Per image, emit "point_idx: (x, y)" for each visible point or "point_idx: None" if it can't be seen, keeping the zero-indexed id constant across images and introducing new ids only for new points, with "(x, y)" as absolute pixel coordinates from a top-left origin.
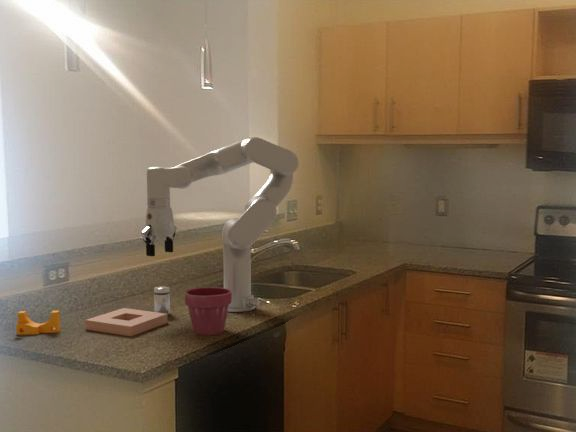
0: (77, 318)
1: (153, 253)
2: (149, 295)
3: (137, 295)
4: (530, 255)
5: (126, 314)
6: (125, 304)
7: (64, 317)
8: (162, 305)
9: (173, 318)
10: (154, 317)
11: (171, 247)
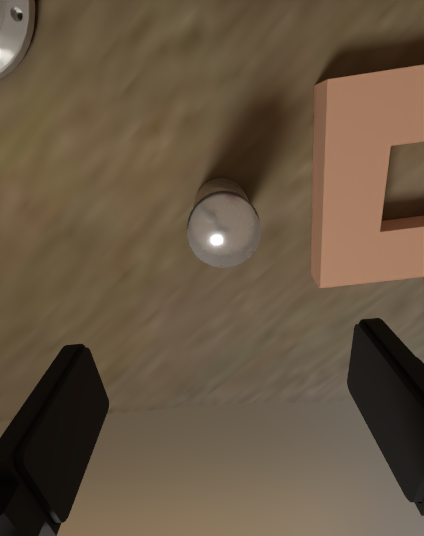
0: None
1: (391, 337)
2: None
3: None
4: None
5: (378, 227)
6: (197, 366)
7: None
8: (242, 191)
9: (248, 119)
10: (406, 77)
11: (64, 382)
